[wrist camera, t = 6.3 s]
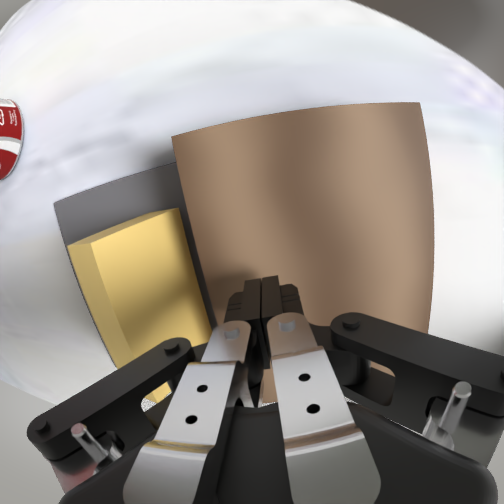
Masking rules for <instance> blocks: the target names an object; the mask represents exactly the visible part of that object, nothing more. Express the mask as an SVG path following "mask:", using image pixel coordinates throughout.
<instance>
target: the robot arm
mask: <svg viewBox="0 0 504 504" xmlns="http://www.w3.org/2000/svg"><path fill="white" fill-rule="evenodd" d="M226 310H227V311H226V314H225V318H224V322H223V324H221V325H219V326H218V327H216V328H215V329H214V331H213V332H212V335H211V337H210V340H209V342H207V343H204V344H200V345H197V346H193V347H192V345H191V342H190V341H189V340H188V339H186V338H183V337H176V338H171V339H168V340H165V341H163V342H161V343H160V344H158V345H157V346H155V347H153V348H152V349H150V350H149V351H147V352H145V353H144V354H142V355H141V356H139V357H137V358H136V359H134V360H132V361H131V362H129V363H128V364H126V365H124V366H123V367H121V368H119V369H118V370H116V371H114V372H113V373H111V374H109V375H108V376H106V377H104V378H103V379H101V380H99V381H98V382H96V383H94V384H93V385H91V386H89V387H88V388H86V389H84V390H83V391H81V392H79V393H78V394H76V395H74V396H72V397H71V398H69V399H67V400H66V401H64V402H62V403H60V404H59V405H57V406H55V407H53V408H52V409H50V410H48V411H46V412H45V413H43V414H41V415H40V416H38V417H36V418H35V419H34V420H33V421H32V422H31V423H30V425H29V426H28V429H27V437H28V439H29V440H30V441H31V442H32V443H33V444H34V446H35V447H36V448H37V449H38V450H39V451H40V452H41V453H42V455H43V456H44V457H45V458H46V459H47V461H48V462H49V463H51V465H52V468H53V470H54V472H55V474H56V476H57V478H58V481H59V483H60V485H61V487H62V489H63V490H64V493H65V495H64V496H63V497H62V499H61V500H60V502H59V504H497V500H498V490H497V486H496V482H495V480H494V477H493V476H492V474H491V473H490V471H489V470H488V469H487V467H488V465H489V463H490V461H491V458H492V456H493V454H494V452H495V450H496V447H497V445H498V443H499V440H500V438H501V435H502V433H503V430H504V356H500V355H497V354H493V353H490V352H486V351H483V350H479V349H476V348H473V347H469V346H466V345H462V344H459V343H456V342H452V341H449V340H446V339H442V338H439V337H436V336H433V335H429V334H426V333H423V332H420V331H416V330H413V329H410V328H407V327H404V326H400V325H397V324H394V323H391V322H388V321H385V320H382V319H378V318H375V317H372V316H369V315H366V314H363V313H358V312H349V313H344V314H341V315H339V316H337V317H335V318H334V319H333V320H332V322H331V324H330V326H318V325H314V324H311V323H309V322H308V321H307V318H306V317H305V316H304V312H303V308H302V304H301V300H300V296H299V292H298V288H297V287H296V286H294V285H293V284H285V285H280V283H279V277H278V275H275V276H269V277H263V278H262V280H261V278H257V279H251V280H245V282H244V289H243V292H236V293H234V294H233V295H232V296H231V297H230V298H229V301H228V306H227V309H226ZM270 360H271V365H272V368H273V373H274V380H275V386H276V392H277V399H278V402H276V403H273V404H270V405H267V406H263V407H262V400H263V392H264V381H263V375H264V370H265V369H270ZM371 361H372V362H375V363H377V364H379V365H382V366H384V367H387V368H388V369H390V370H391V371H392V372H393V374H394V375H395V377H394V376H392V375H390V374H387V373H385V372H382V371H380V370H378V369H375V368H373V367H371ZM166 382H167V383H168V386H169V388H170V390H171V392H172V393H171V394H170V395H168V396H167V397H166V398H164V399H163V400H161V401H160V402H159V403H157V404H156V405H154V406H153V407H151V408H150V409H148V410H147V411H145V412H143V410H142V408H141V402H142V400H143V398H144V397H145V396H147V395H148V394H150V393H151V392H153V391H154V390H155V389H157V388H158V387H160V386H161V385H163V384H164V383H166ZM344 396H345V397H347V398H349V399H351V400H352V401H354V402H356V403H358V404H356V403H352V402H347V401H346V400H345V398H344ZM359 404H360V405H359ZM387 418H388V419H387ZM389 419H390V420H389ZM391 420H392V421H391ZM393 421H394V422H393ZM395 422H396V423H395ZM397 423H399V424H401V425H403V426H405V427H407V428H409V429H411V430H414V431H416V432H418V433H420V434H423V436H421V435H418V434H416V433H415V432H413V431H411V430H409V429H407V428H405V427H403V426H401V425H399V424H397Z"/></svg>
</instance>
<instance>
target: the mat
mask: <svg viewBox="0 0 504 504" xmlns="http://www.w3.org/2000/svg"><path fill="white" fill-rule="evenodd" d="M54 207H55V211H56V215H57V219H58V223H59V226H60V230H61V233H62V237H63V240H64V243H65V247H66V250H67V253H68V256H69V259H70V262H71V265H72V268H73V271H74V274H75V277H76V279H77V282H78V285H79V287H80V290H81V293H82V295H83V298H84V300H85V303H86V305H87V307H88V310H89V312H90V315H91V317H92V319H93V321H94V318H93V316H92V314H91V311H90V309H89V306H88V304H87V301H86V299H85V296H84V294H83V291H82V288H81V286H80V283H79V280H78V277H77V275H76V272H75V269H74V266H73V263H72V260H71V257H70V254H69V251H68V247H67V246H68V245H70V244H73V243H75V242H77V241H80V240H82V239H84V238H87V237H89V236H91V235H94V234H96V233H99V232H101V231H103V230H106V229H108V228H111V227H113V226H116V225H118V224H121V223H123V222H126V221H129V220H131V219H134V218H136V217H139V216H142V215H144V214H147V213H150V212H156V211H162V210H168V209H173V208H179V211H180V215H181V219H182V223H183V227H184V231H185V235H186V239H187V243H188V247H189V251H190V255H191V259H192V263H193V266H194V270H195V274H196V277H197V281H198V285H199V288H200V292H201V295H202V299H203V302H204V306H205V309H206V313H207V316H208V319H209V323H210V326H211V329H212V332H213V331H214V329H215V328H216V327H218V323H217V320H216V317H215V313H214V310H213V306H212V303H211V299H210V296H209V292H208V289H207V285H206V281H205V278H204V274H203V270H202V266H201V263H200V259H199V255H198V251H197V247H196V243H195V239H194V236H193V232H192V227H191V223H190V219H189V215H188V211H187V207H186V202H185V198H184V194H183V189H182V185H181V181H180V176H179V171H178V167H177V162H175V163H171V164H168V165H164V166H161V167H157V168H154V169H150V170H147V171H143V172H140V173H137V174H134V175H130V176H127V177H124V178H121V179H118V180H115V181H112V182H109V183H106V184H103V185H100V186H97V187H95V188H92V189H89V190H86V191H84V192H81V193H78V194H76V195H73V196H70V197H68V198H65V199H63V200H60V201H58V202H55V203H54ZM94 324H95V326H96V328H97V330H98V327H97V325H96V323H95V321H94ZM98 333H99V335H100V337H101V339H102V341H103V338H102V336H101V334H100V332H99V330H98ZM103 343H104V341H103ZM104 345H105V343H104ZM105 347H106V345H105ZM106 349H107V347H106ZM107 351H108V349H107ZM108 353H109V351H108ZM109 355H110V353H109ZM110 357H111V355H110ZM111 359H112V357H111ZM112 361H113V359H112ZM113 363H114V361H113ZM114 365H115V363H114ZM115 367H116V365H115Z"/></svg>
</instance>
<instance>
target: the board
mask: <svg viewBox="0 0 504 504" xmlns="http://www.w3.org/2000/svg"><path fill="white" fill-rule="evenodd" d="M171 138H172V143H173V148H174V153H175V157H176V162H177V167H178V171H179V176H180V181H181V185H182V189H183V194H184V198H185V202H186V207H187V211H188V215H189V219H190V223H191V227H192V232H193V236H194V239H195V243H196V247H197V251H198V255H199V259H200V263H201V266H202V270H203V274H204V278H205V281H206V285H207V289H208V292H209V296H210V299H211V303H212V306H213V310H214V313H215V317H216V320H217V323H218V326H219V325H221V324H223V322H224V318H225V314H226V311H227V310H226V309H227V306H228V301H229V298H230V297H231V296H232V295H233V294H234V293H236V292H243V289H244V282H245V280H251V279H257V278H261V280H262V278H263V277H269V276H275V275H278V277H279V283H280V285H285V284H293V285H294V286H296V287H297V288H298V292H299V296H300V300H301V304H302V308H303V312H304V316H305V317H306V318H307V321H308V322H309V323H311V324H314V325H318V326H330V324H331V322H332V320H333V319H334V318H335V317H337V316H339V315H341V314H344V313H349V312H358V313H363V314H366V315H369V316H372V317H375V318H378V319H382V320H385V321H388V322H391V323H394V324H397V325H400V326H404V327H407V328H410V329H413V330H416V331H420V332H423V333H426V334H428V328H429V320H430V311H431V301H432V289H433V272H434V208H433V191H432V179H431V169H430V160H429V152H428V145H427V139H426V133H425V127H424V121H423V116H422V111H421V106H420V103H419V102H395V103H366V104H351V105H338V106H328V107H318V108H310V109H302V110H294V111H288V112H281V113H275V114H269V115H263V116H257V117H252V118H247V119H242V120H237V121H232V122H228V123H223V124H219V125H214V126H210V127H206V128H202V129H198V130H194V131H190V132H187V133H183V134H179V135H176V136H172V137H171ZM371 367H373V368H375V369H378V370H380V371H382V372H385V373H387V374H390V375H392V376H394V377H395V375H394V374H393V372H392V371H391V370H390V369H388V368H387V367H384V366H382V365H379V364H377V363H375V362H372V361H371ZM263 381H264V392H263V400H262V403H270V402H278V399H277V392H276V386H275V380H274V373H273V368H272V365H271V360H270V369H265V370H264V375H263Z"/></svg>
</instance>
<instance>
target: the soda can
mask: <svg viewBox="0 0 504 504" xmlns="http://www.w3.org/2000/svg"><path fill="white" fill-rule="evenodd" d="M23 133H24V124H23V116H22V113H21V110H20V108H19V106H18V105H17V103H16V102H14V101H12V100H8V99H0V180H1V179H4V178H5V177H7V176H8V175H9V174H10V172H11V171H12V170H13V168H14V166H15V165H16V163H17V160H18V158H19V155H20V151H21V148H22V142H23Z"/></svg>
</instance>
